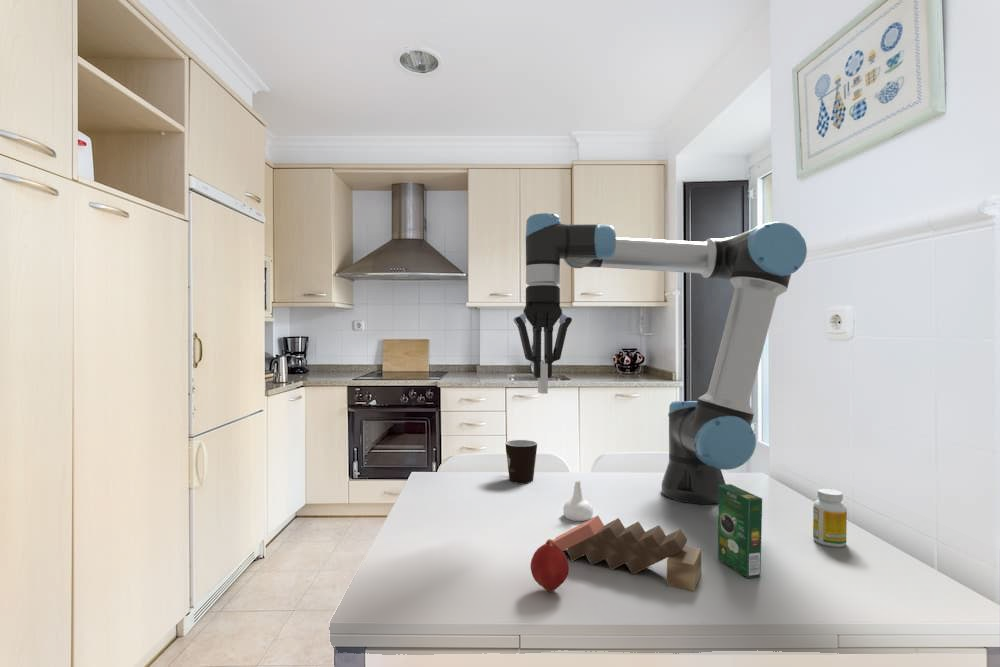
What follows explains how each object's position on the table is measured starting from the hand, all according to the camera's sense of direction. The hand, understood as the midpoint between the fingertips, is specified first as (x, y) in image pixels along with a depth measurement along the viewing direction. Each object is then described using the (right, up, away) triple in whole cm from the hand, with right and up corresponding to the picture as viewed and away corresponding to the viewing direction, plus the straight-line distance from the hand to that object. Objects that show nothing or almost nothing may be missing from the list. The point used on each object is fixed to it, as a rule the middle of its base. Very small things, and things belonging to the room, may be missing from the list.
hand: (542, 392), depth 117 cm
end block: (+20, -26, -32) cm, 46 cm away
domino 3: (+7, -26, -24) cm, 36 cm away
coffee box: (+31, -27, -28) cm, 49 cm away
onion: (-2, -27, -36) cm, 45 cm away
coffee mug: (-3, -27, +28) cm, 39 cm away
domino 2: (+4, -26, -23) cm, 34 cm away
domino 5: (+13, -26, -28) cm, 40 cm away
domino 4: (+10, -26, -26) cm, 38 cm away
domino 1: (+1, -26, -21) cm, 33 cm away
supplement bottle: (+53, -27, -16) cm, 62 cm away
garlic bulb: (+7, -27, -3) cm, 28 cm away
